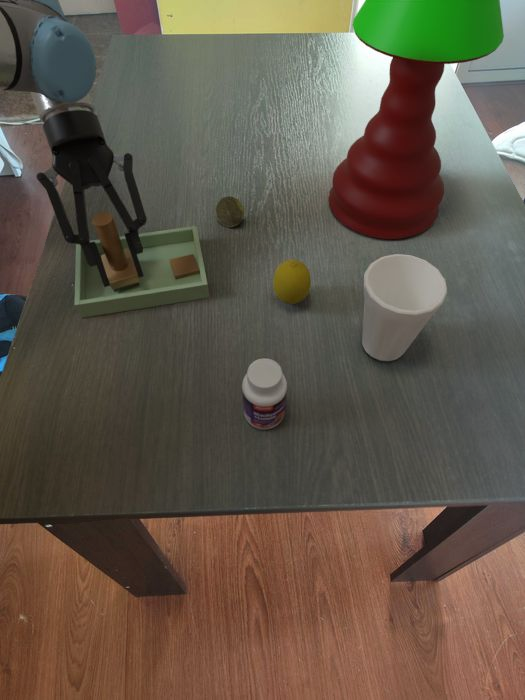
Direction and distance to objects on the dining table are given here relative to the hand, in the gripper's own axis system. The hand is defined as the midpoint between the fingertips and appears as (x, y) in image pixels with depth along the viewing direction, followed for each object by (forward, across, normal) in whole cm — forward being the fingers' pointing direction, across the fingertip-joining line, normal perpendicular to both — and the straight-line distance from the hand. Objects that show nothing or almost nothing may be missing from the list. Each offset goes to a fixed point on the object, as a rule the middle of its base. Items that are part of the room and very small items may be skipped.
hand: (124, 281), depth 69 cm
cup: (+19, -32, +13) cm, 39 cm away
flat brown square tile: (+1, -10, -4) cm, 11 cm away
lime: (-5, -20, -10) cm, 23 cm away
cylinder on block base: (-1, 0, -5) cm, 5 cm away
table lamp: (-1, -48, -6) cm, 48 cm away
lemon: (+10, -23, +4) cm, 25 cm away
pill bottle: (+21, -12, +16) cm, 29 cm away
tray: (0, -3, -5) cm, 6 cm away
